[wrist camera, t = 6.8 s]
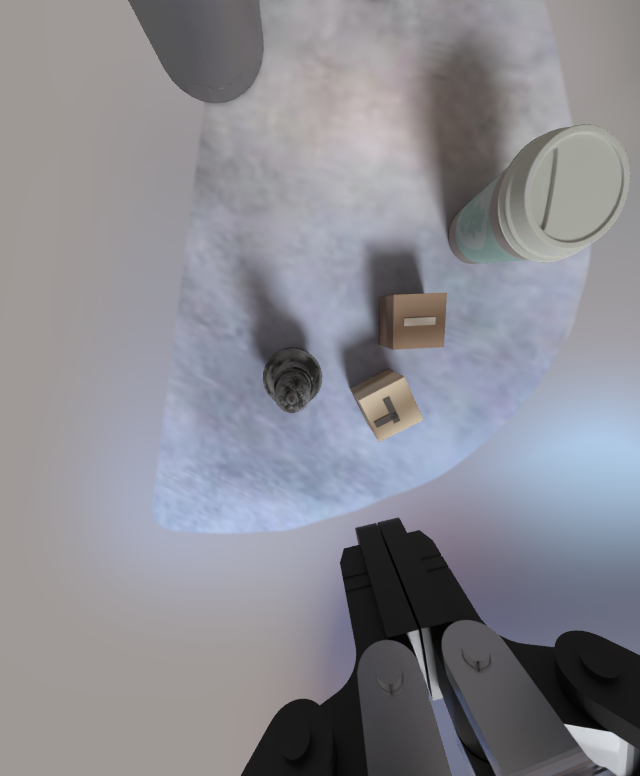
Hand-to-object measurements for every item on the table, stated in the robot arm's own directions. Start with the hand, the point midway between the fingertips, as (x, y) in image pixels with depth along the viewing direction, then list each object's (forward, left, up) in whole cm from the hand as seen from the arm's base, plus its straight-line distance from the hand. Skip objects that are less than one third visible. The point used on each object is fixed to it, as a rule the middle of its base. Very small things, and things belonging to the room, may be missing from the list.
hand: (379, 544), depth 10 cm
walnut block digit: (-5, +10, -25) cm, 27 cm away
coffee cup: (-12, +19, -25) cm, 34 cm away
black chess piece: (-2, -3, -25) cm, 25 cm away
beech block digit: (+3, +6, -25) cm, 26 cm away
